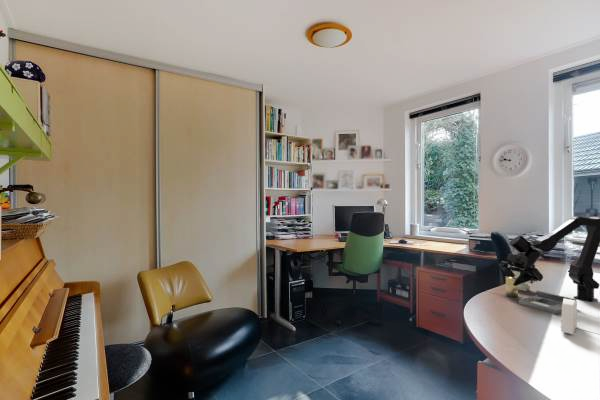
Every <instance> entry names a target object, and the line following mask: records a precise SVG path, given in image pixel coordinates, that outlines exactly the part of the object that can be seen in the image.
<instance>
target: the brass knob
mask: <svg viewBox="0 0 600 400" xmlns="http://www.w3.org/2000/svg"><path fill="white" fill-rule="evenodd" d="M516 279H517V277H512V276H506V283H505V294H506V296H507V297H510V298H509V299H511V298H518V296H519V289H518V285H517V286H515V285H514V282H515V281H516ZM507 297H506V298H507Z"/></svg>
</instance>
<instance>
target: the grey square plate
mask: <svg viewBox="0 0 600 400" xmlns="http://www.w3.org/2000/svg"><path fill="white" fill-rule="evenodd" d="M500 297H504V298H508V299H512V300H514V301H515V300H516V301H517V300H521V299H524V298H525V297H524V296H520V295H518V298H510V297H507V296H506V293H505V294H501V295H500Z"/></svg>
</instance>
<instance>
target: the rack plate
mask: <svg viewBox="0 0 600 400" xmlns="http://www.w3.org/2000/svg"><path fill="white" fill-rule="evenodd" d="M564 298H565V299H570V300H575V301H577V298H572V297H568V296H562V295H558V294H554V293H549V292H545V291H541V290H536V295H533V296H529V297H528V296H527V297H526V298H525V297H524V298H521V299H518V304H519V305H523V306H526V307H529V308H532V309H536V310H540V311H544V312H548V313H551V314H553V315H556V316H560V315H562V303H563V299H564Z"/></svg>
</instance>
